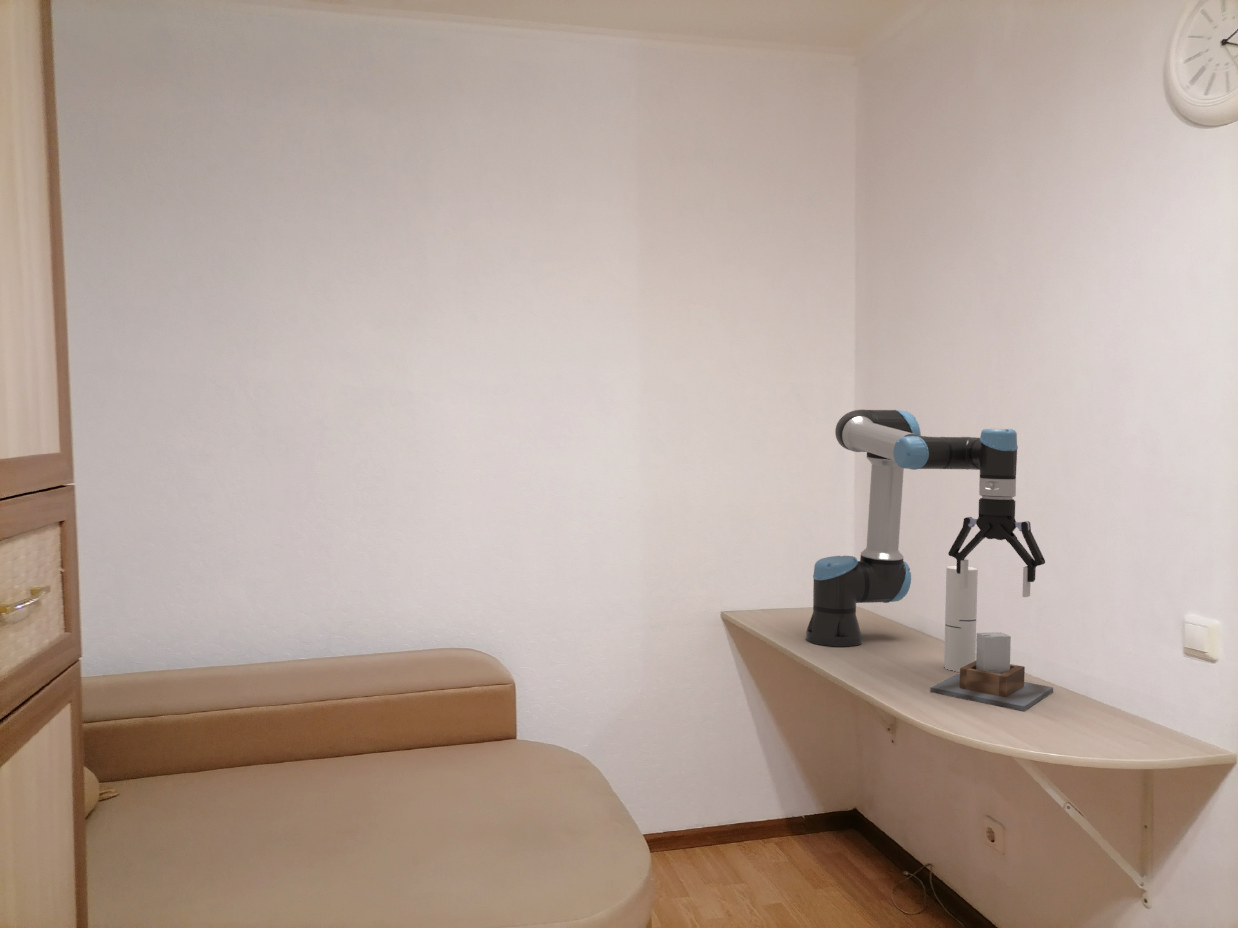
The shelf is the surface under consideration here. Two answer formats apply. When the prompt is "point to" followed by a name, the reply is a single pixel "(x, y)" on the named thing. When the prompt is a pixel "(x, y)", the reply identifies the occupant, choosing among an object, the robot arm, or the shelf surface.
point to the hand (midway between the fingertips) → (994, 592)
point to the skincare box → (993, 652)
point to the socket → (994, 687)
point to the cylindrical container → (960, 619)
